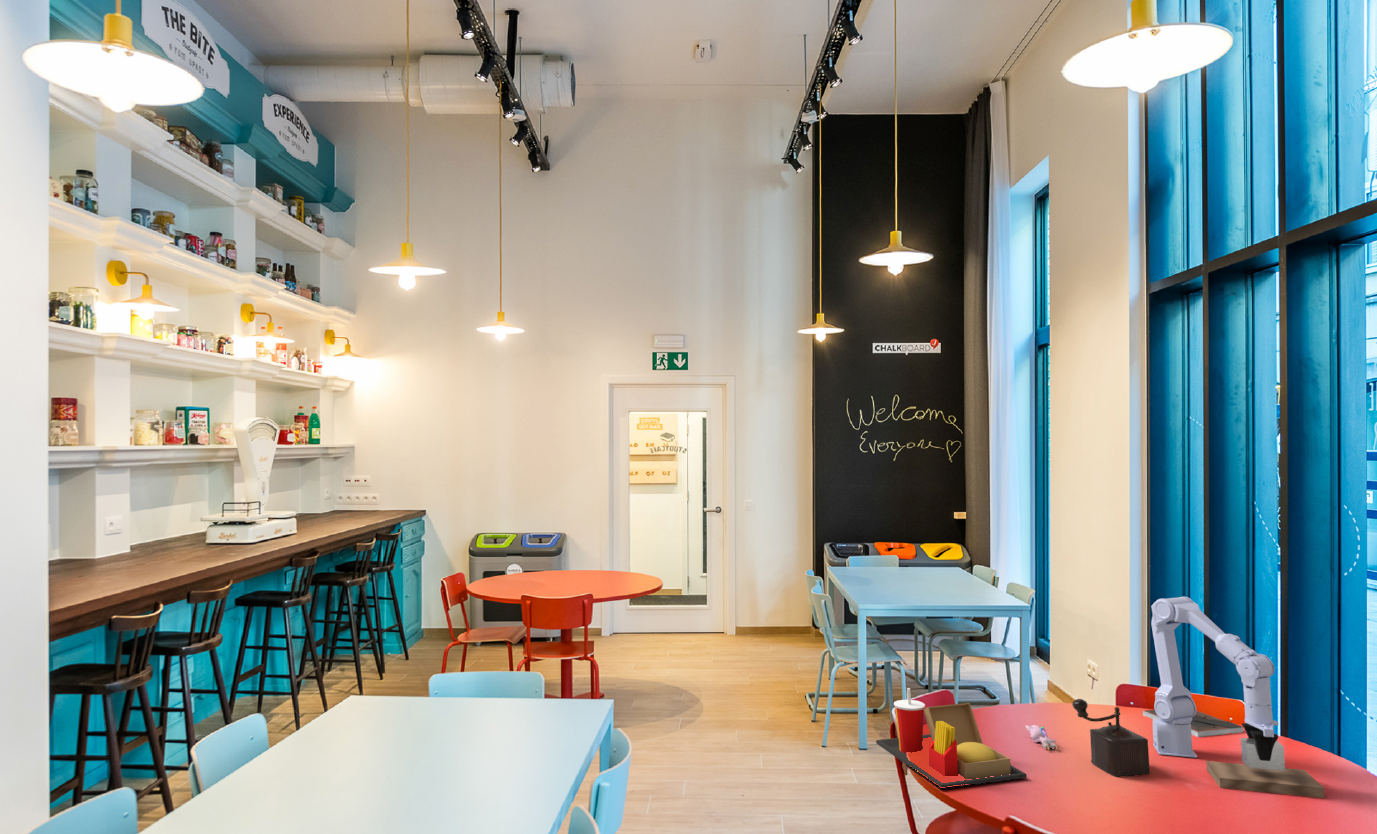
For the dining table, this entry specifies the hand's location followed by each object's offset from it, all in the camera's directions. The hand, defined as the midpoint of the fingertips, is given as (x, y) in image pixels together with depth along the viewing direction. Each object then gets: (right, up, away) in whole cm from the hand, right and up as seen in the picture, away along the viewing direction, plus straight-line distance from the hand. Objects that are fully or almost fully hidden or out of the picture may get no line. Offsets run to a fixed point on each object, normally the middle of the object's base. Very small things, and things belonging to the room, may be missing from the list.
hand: (1261, 756), depth 203 cm
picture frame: (+12, -11, +47) cm, 49 cm away
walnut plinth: (0, -7, 0) cm, 7 cm away
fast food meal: (-75, -10, +19) cm, 78 cm away
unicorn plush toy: (-43, -10, +32) cm, 54 cm away
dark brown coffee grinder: (-33, -8, +11) cm, 36 cm away
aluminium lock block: (0, -2, 0) cm, 2 cm away
